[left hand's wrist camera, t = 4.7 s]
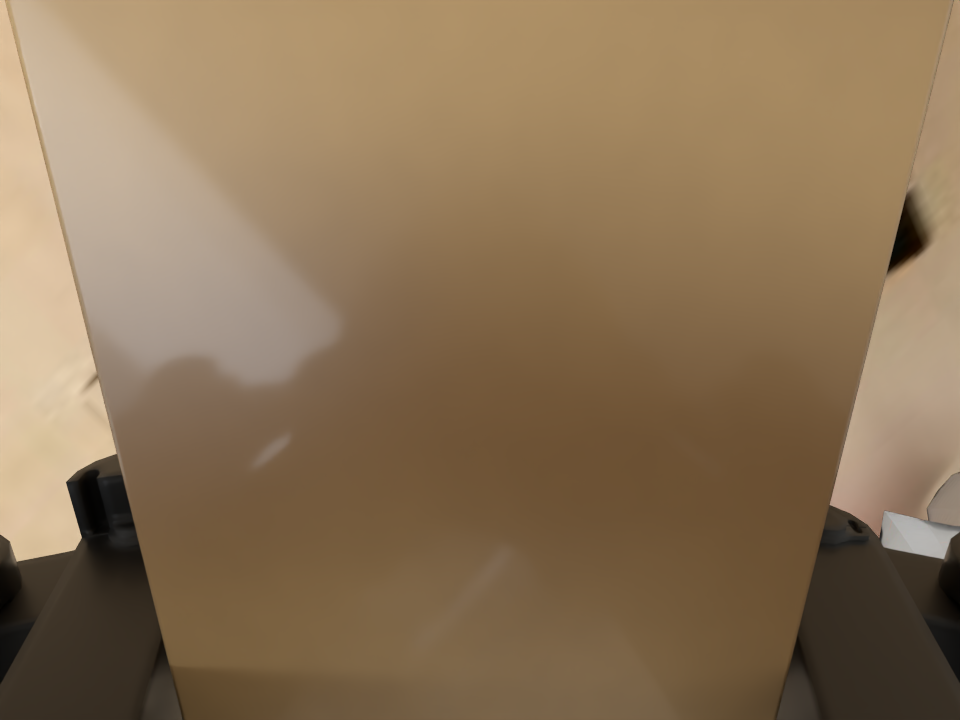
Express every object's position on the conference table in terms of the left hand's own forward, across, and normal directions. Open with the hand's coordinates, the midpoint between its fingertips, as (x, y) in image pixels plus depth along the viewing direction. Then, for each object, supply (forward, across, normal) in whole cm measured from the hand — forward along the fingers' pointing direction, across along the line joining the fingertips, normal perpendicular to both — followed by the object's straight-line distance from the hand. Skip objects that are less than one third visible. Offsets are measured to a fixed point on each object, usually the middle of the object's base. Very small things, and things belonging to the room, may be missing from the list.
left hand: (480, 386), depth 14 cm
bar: (+1, 0, -8) cm, 8 cm away
